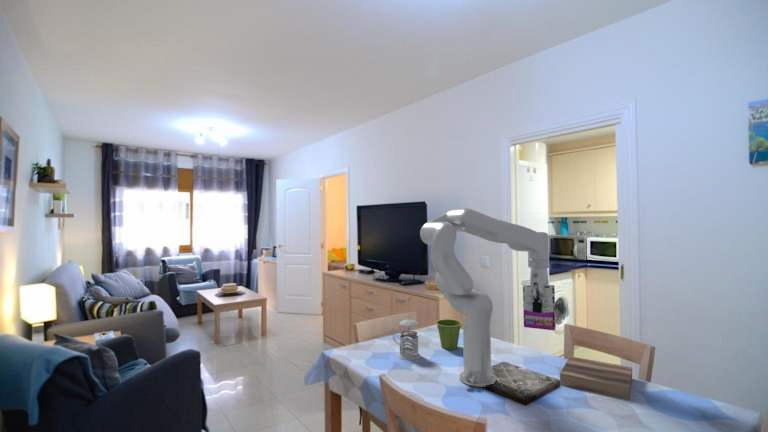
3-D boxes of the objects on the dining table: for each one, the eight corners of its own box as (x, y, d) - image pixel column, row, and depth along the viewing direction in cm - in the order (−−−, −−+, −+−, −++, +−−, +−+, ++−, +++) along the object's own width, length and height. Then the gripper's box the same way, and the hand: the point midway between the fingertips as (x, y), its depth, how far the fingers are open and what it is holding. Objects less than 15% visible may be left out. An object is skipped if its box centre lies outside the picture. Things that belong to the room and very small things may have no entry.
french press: (421, 359, 153) (420, 299, 154) (393, 360, 153) (392, 299, 154) (419, 351, 163) (419, 294, 164) (393, 352, 163) (392, 294, 164)
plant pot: (431, 345, 171) (430, 321, 172) (452, 341, 176) (452, 318, 177) (445, 353, 161) (445, 327, 161) (468, 349, 166) (467, 323, 166)
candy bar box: (555, 327, 143) (555, 284, 143) (555, 331, 138) (554, 286, 139) (525, 324, 148) (524, 282, 149) (523, 327, 144) (522, 284, 144)
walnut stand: (629, 400, 116) (629, 387, 116) (560, 384, 128) (560, 373, 128) (632, 378, 133) (631, 367, 133) (570, 366, 144) (570, 356, 144)
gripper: (543, 266, 135) (544, 316, 134) (553, 262, 149) (554, 308, 148) (522, 265, 139) (523, 313, 139) (533, 261, 153) (534, 305, 153)
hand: (539, 310), depth 143 cm, fingers closed on candy bar box, 5 cm apart
